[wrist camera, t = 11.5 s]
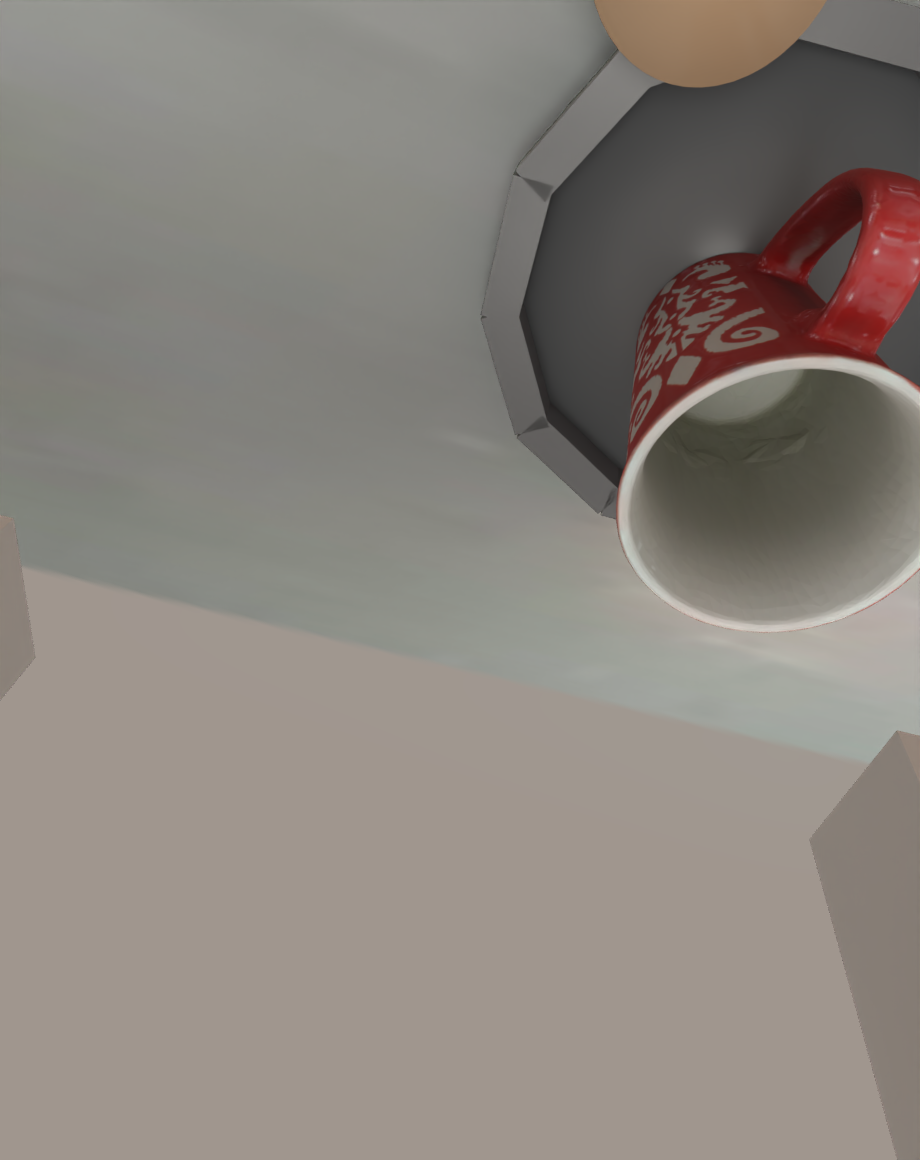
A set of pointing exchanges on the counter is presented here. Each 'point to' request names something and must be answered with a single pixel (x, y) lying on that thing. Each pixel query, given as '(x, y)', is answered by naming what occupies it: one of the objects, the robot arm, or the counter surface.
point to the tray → (681, 216)
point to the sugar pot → (704, 35)
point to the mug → (780, 423)
